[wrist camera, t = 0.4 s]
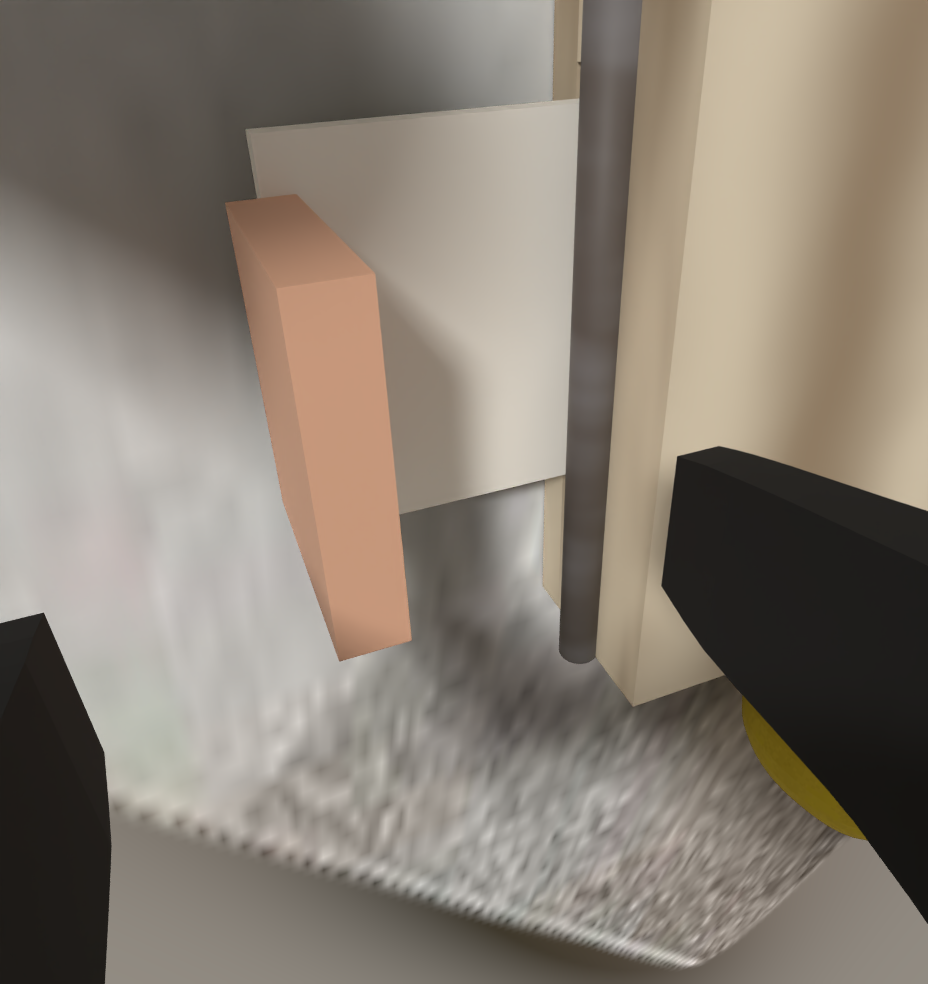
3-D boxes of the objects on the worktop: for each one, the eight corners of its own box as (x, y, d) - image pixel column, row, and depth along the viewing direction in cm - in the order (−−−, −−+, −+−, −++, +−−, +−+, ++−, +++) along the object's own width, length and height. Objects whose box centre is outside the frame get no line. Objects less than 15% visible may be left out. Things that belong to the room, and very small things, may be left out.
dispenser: (958, -220, 16) (1240, -293, 12) (792, 515, 26) (917, 608, 22) (516, -238, 13) (692, -341, 9) (517, 593, 23) (603, 716, 19)
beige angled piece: (906, 68, 17) (1181, 90, 13) (829, 397, 22) (1016, 499, 17) (208, 132, 13) (260, 198, 9) (285, 526, 17) (347, 705, 13)
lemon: (795, 692, 31) (971, 867, 25) (680, 718, 29) (839, 916, 23) (844, 578, 29) (1054, 743, 22) (721, 599, 27) (913, 786, 20)
